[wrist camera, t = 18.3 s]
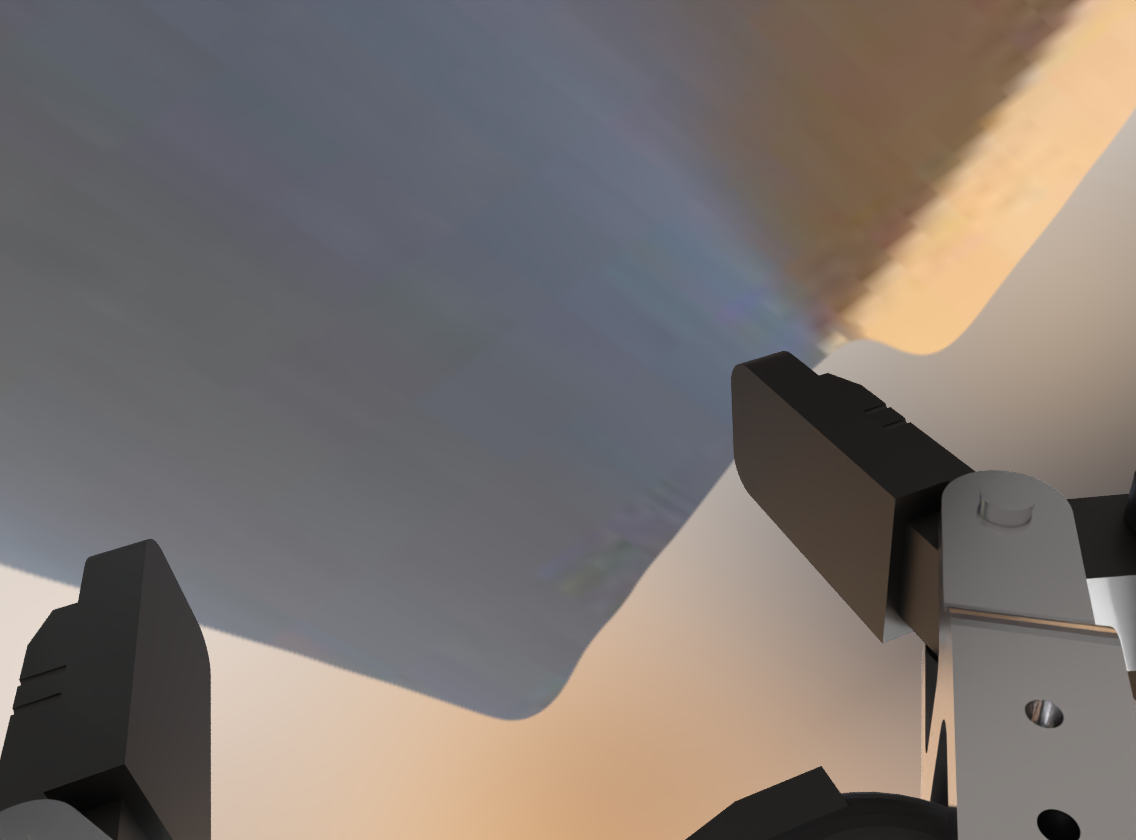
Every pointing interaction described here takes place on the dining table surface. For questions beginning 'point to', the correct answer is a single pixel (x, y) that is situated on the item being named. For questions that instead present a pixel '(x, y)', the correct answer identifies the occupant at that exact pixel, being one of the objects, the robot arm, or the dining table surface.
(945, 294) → the dining table surface
